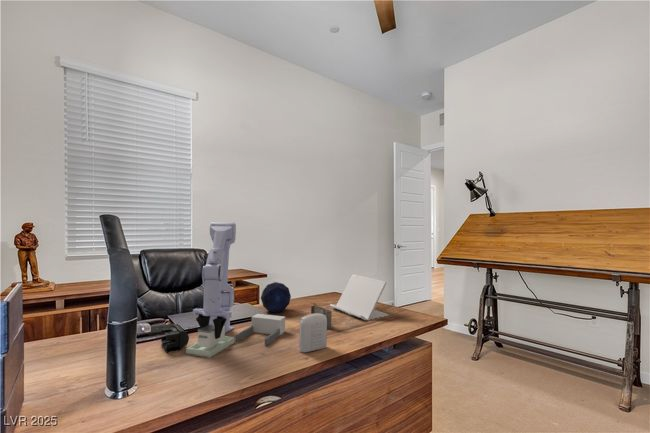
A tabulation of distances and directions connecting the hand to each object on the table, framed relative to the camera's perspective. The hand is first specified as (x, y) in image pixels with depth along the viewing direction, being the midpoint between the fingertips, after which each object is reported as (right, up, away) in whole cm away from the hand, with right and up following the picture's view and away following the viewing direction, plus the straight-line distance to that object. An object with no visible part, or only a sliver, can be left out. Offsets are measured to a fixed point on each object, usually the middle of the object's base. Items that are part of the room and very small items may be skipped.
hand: (211, 337), depth 115 cm
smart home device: (-26, -4, +17) cm, 31 cm away
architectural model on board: (+38, -6, +27) cm, 47 cm away
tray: (0, -4, 0) cm, 4 cm away
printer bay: (+15, -4, +12) cm, 20 cm away
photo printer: (+36, -5, +1) cm, 36 cm away
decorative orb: (+15, -5, +48) cm, 50 cm away
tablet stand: (+57, -6, +48) cm, 74 cm away
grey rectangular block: (0, -2, 0) cm, 2 cm away
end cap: (-13, -4, +1) cm, 14 cm away
